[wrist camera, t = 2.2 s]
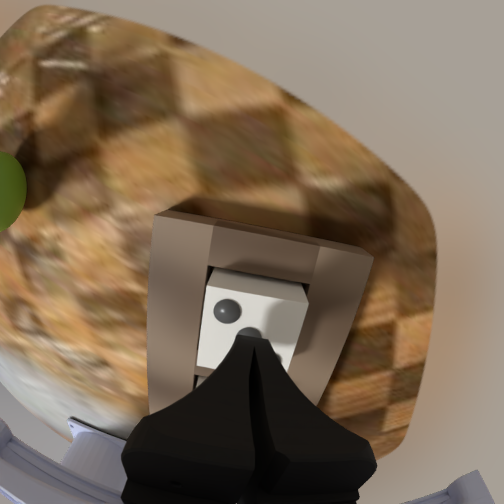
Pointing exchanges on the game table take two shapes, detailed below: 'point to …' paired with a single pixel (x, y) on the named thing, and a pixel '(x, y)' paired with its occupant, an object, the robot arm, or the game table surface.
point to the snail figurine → (11, 190)
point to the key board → (250, 261)
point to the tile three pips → (250, 314)
